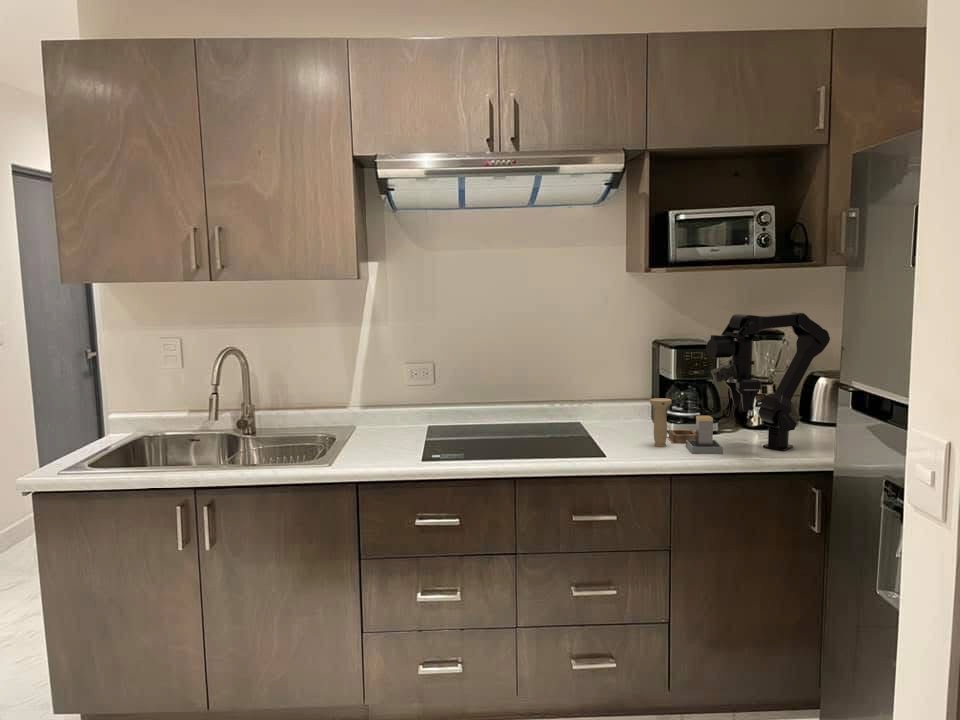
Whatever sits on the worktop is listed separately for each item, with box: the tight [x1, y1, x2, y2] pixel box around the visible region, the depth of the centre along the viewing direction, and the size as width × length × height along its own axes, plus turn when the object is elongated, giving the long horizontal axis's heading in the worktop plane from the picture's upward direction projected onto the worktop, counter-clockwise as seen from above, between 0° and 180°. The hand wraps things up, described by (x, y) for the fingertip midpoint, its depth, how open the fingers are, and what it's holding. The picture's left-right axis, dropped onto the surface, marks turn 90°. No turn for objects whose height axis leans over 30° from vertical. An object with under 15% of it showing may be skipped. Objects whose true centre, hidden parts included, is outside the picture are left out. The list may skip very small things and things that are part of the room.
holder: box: [666, 429, 696, 445], centre depth 214 cm, size 9×9×3 cm
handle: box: [649, 397, 673, 448], centre depth 207 cm, size 5×6×15 cm
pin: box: [695, 415, 714, 447], centre depth 201 cm, size 4×4×10 cm
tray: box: [685, 439, 724, 455], centre depth 202 cm, size 9×9×2 cm
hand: (740, 408), depth 200 cm, fingers open, 9 cm apart
